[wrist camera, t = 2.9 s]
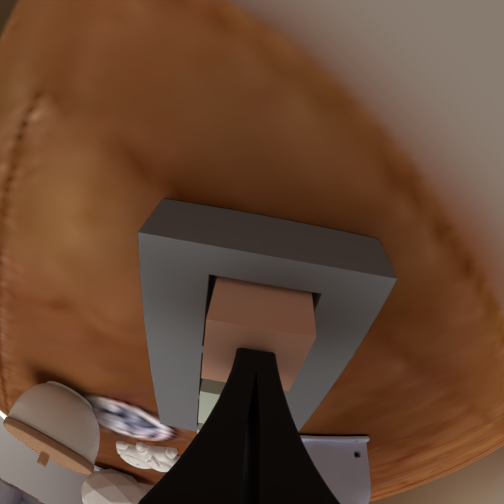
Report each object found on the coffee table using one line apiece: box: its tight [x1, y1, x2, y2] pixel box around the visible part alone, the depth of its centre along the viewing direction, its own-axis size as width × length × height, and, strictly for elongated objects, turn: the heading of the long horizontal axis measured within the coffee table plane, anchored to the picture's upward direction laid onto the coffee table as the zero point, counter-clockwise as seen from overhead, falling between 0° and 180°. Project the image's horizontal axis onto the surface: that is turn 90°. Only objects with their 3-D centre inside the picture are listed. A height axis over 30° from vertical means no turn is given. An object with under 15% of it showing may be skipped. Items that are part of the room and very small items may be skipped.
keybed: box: [138, 199, 397, 432], centre depth 17 cm, size 10×17×3 cm, turn 170°
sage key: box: [198, 378, 226, 424], centre depth 15 cm, size 4×4×3 cm
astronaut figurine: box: [116, 441, 181, 472], centre depth 33 cm, size 9×12×3 cm
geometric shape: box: [81, 468, 147, 504], centre depth 42 cm, size 14×15×15 cm
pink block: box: [201, 276, 316, 391], centre depth 12 cm, size 4×4×3 cm
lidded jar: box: [3, 381, 100, 475], centre depth 23 cm, size 11×11×9 cm
